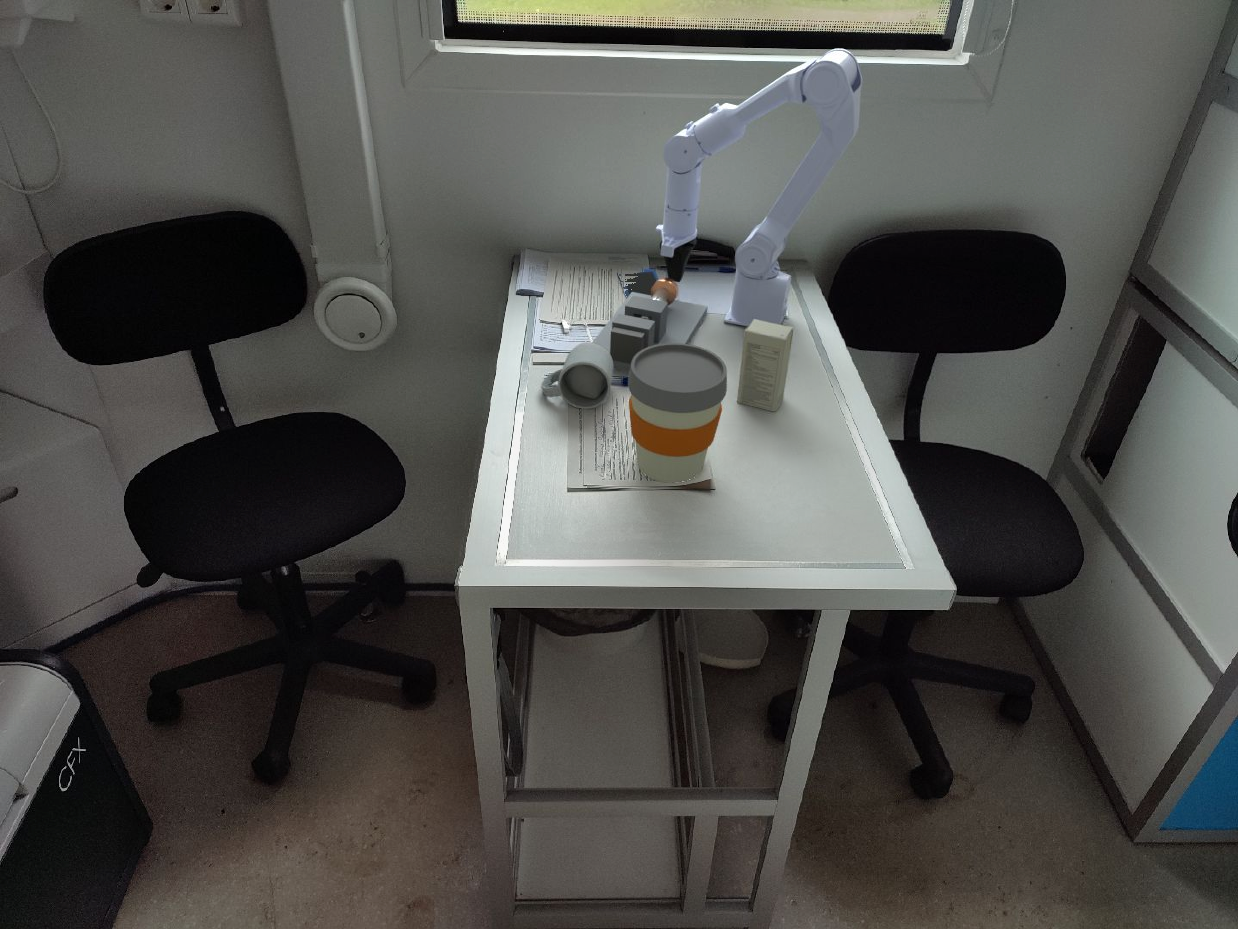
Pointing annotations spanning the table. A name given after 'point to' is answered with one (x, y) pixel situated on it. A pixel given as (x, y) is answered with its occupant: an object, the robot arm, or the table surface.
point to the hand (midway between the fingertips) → (675, 279)
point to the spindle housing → (648, 327)
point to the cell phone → (641, 282)
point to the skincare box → (764, 364)
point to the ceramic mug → (582, 377)
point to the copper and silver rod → (663, 292)
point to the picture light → (566, 328)
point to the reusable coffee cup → (675, 408)
